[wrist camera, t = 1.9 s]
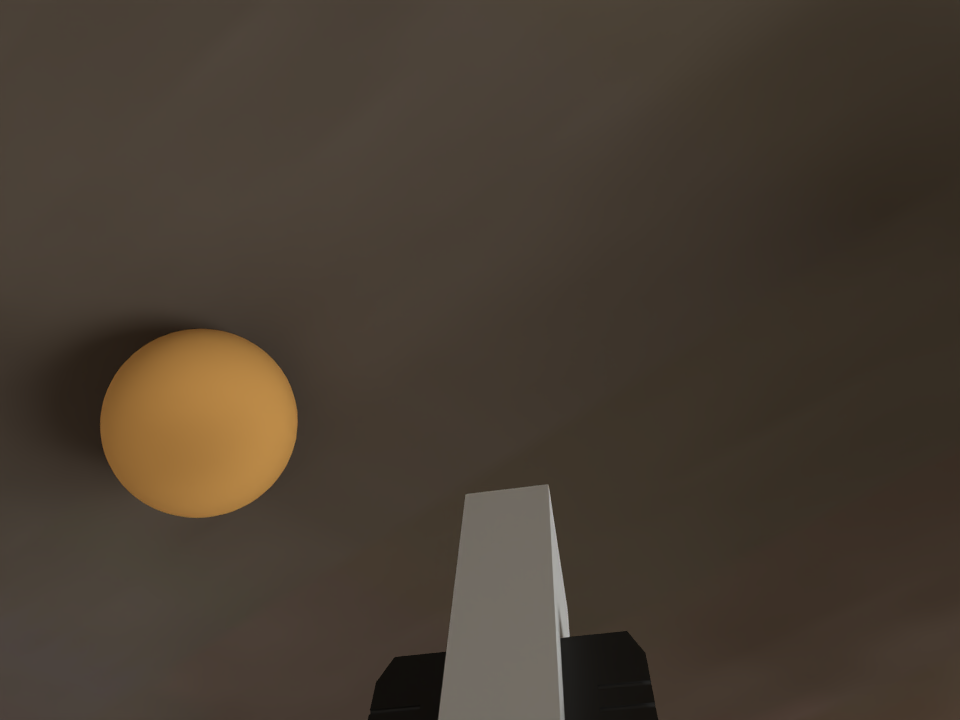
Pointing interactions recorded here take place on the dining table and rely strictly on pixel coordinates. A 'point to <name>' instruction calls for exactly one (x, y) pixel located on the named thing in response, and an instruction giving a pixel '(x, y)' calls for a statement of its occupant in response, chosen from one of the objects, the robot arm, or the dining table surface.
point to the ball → (198, 423)
